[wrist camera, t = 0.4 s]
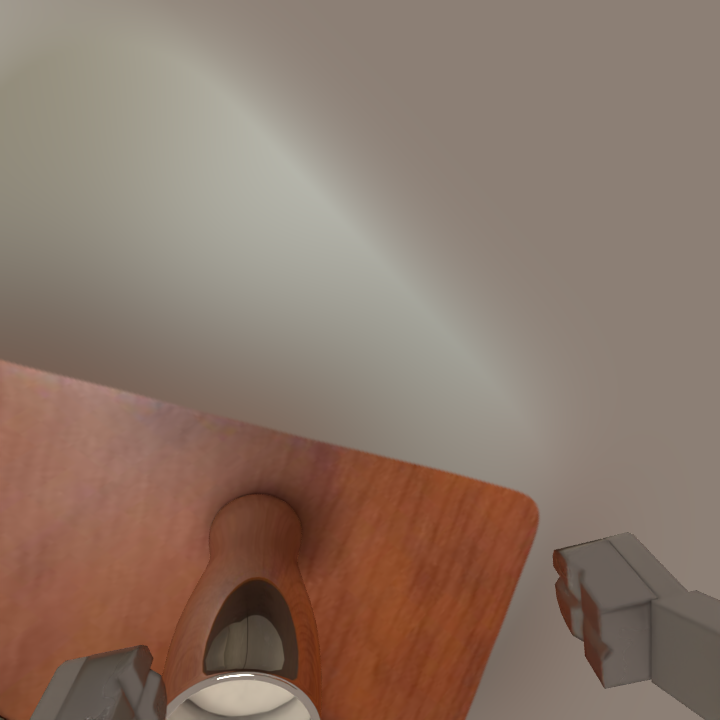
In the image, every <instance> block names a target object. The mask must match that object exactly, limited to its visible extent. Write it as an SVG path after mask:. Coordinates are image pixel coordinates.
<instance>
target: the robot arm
mask: <svg viewBox="0 0 720 720" xmlns="http://www.w3.org/2000/svg"><path fill="white" fill-rule="evenodd" d="M553 566H554V568H555V569H556V571H557V573H558V574H559V576H560V577H559V579H558V580H557V582H556V584H555V588H556V596H557V601H558V604H559V607H560V611H561V613H562V616H563V618H564V620H565V622H566V624H567V626H568V628H569V630H570V631H571V633H572V635H573V636H575V637H576V638H578V639H580V640H581V641H583V642H584V650H585V657H586V659H587V660H588V662H589V663H590V665H591V667H592V668H593V670H594V672H595V673H596V675H597V677H598V678H599V680H600V682H601V683H602V685H603V687H604V688H605V689H606V688H611V687H616V686H621V685H626V684H631V683H635V682H641V681H645V680H650V679H652V682H653V683H654V684H655V685H657V686H658V687H660V688H661V689H662V690H664V691H665V692H667V693H668V694H670V695H671V696H672V697H674V698H675V699H677V700H678V701H679V702H681V703H682V704H684V705H685V706H686V707H688V708H689V709H691V710H692V711H694V712H695V713H696V714H698V715H699V716H700V717H702V718H703V719H705V720H720V600H718V599H715V598H713V597H711V596H708V595H706V594H704V593H701V592H699V591H697V590H696V591H691V592H688V591H687V590H686V589H685V588H684V587H683V586H682V585H681V584H680V583H679V582H678V581H677V580H676V579H675V577H674V576H673V575H672V574H671V573H670V572H669V571H668V570H667V569H666V568H665V567H664V566H663V565H662V564H661V563H660V562H659V561H658V560H657V559H656V558H655V557H654V556H653V555H652V554H651V553H650V552H649V550H648V549H647V548H646V547H645V546H644V545H643V544H642V543H641V542H640V541H639V540H638V539H637V538H636V537H635V536H634V535H633V534H631V533H629V532H627V533H622V534H618V535H614V536H610V537H606V538H603V539H598V540H595V541H590V542H586V543H582V544H578V545H573V546H569V547H565V548H561V549H557V550H554V553H553ZM152 661H153V656H152V655H151V653H150V651H149V649H148V647H147V646H144V645H139V646H134V647H129V648H124V649H119V650H114V651H109V652H104V653H99V654H94V655H91V656H88V657H83V658H78V659H73V660H67V661H65V662H64V663H63V664H61V665H60V666H59V667H58V668H57V670H56V672H55V674H54V675H53V677H52V679H51V681H50V683H49V685H48V687H47V688H46V690H45V692H44V694H43V696H42V698H41V700H40V701H39V703H38V705H37V707H36V709H35V711H34V712H33V714H32V716H31V718H30V720H165V719H166V715H167V693H166V687H165V683H164V681H163V679H162V676H161V675H160V674H158V673H156V672H155V671H153V670H151V669H150V667H151V664H152Z"/></svg>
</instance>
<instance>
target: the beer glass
mask: <svg viewBox="0 0 720 720" xmlns="http://www.w3.org/2000/svg"><path fill="white" fill-rule="evenodd" d="M301 542H302V527H301V523H300V520H299V518H298V516H297V514H296V513H295V511H294V510H293V509H292V508H291V507H290V506H289V505H288V504H287V503H286V502H284V501H283V500H281V499H279V498H277V497H274V496H271V495H266V494H250V495H245V496H242V497H239V498H236V499H234V500H233V501H231V502H229V503H228V504H226V505H225V506H224V507H223V508H222V509H221V510H220V511H219V512H218V514H217V515H216V517H215V518H214V520H213V522H212V525H211V528H210V532H209V552H210V559H209V562H208V565H207V567H206V569H205V571H204V572H203V574H202V576H201V578H200V579H199V581H198V583H197V585H196V587H195V588H194V590H193V592H192V594H191V596H190V598H189V599H188V601H187V603H186V606H185V608H184V610H183V612H182V614H181V616H180V618H179V621H178V623H177V625H176V628H175V631H174V634H173V637H172V640H171V643H170V646H169V649H168V653H167V657H166V661H165V665H164V669H163V673H162V679H163V681H164V683H165V687H166V693H167V715H166V719H165V720H321V706H322V673H321V656H320V645H319V637H318V630H317V624H316V620H315V616H314V612H313V608H312V605H311V601H310V598H309V595H308V592H307V590H306V587H305V584H304V581H303V579H302V576H301V573H300V570H299V567H298V562H297V561H298V555H299V551H300V547H301Z"/></svg>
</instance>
